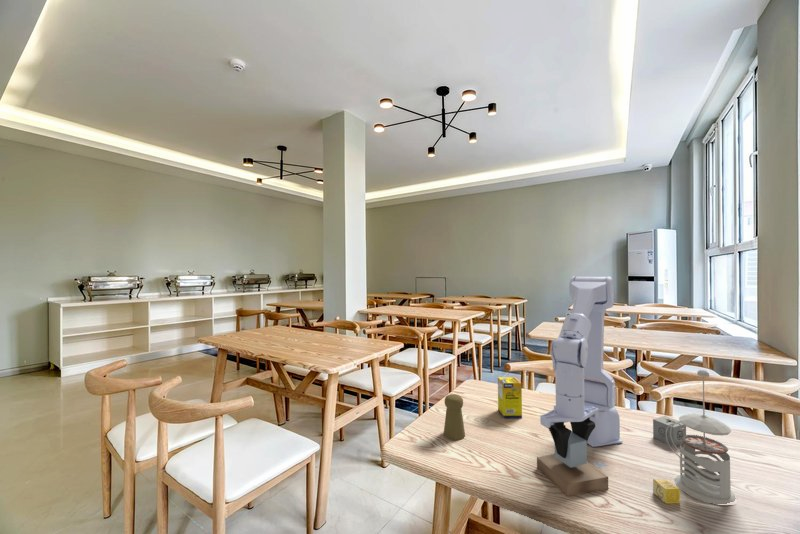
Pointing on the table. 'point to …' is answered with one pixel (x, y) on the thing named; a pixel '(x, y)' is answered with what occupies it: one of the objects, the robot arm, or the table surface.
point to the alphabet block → (666, 491)
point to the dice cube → (660, 430)
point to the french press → (704, 458)
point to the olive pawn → (454, 418)
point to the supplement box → (510, 397)
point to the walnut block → (572, 476)
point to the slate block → (575, 451)
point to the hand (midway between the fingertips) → (570, 453)
